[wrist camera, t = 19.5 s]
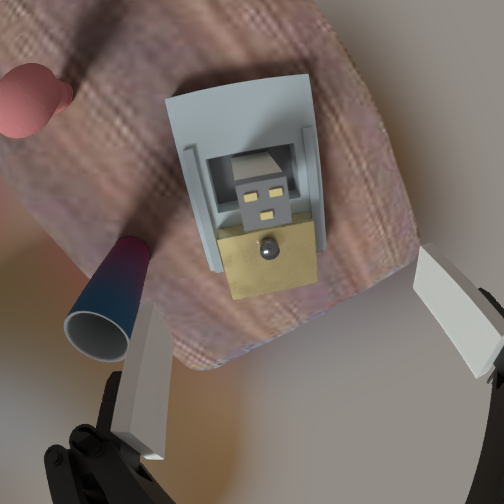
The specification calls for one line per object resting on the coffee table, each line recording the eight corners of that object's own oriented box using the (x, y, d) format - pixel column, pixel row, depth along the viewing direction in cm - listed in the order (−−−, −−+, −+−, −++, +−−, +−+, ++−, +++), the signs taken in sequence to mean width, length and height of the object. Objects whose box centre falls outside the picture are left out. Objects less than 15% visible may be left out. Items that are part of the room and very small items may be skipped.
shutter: (217, 229, 32) (216, 246, 29) (307, 211, 32) (317, 226, 28) (232, 286, 36) (233, 306, 33) (312, 270, 36) (320, 288, 33)
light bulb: (95, 63, 23) (36, 56, 13) (87, 123, 27) (29, 145, 16) (45, 68, 22) (-20, 70, 12) (39, 124, 25) (-24, 148, 15)
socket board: (170, 98, 27) (163, 99, 24) (300, 75, 27) (310, 73, 24) (211, 257, 37) (210, 274, 34) (319, 236, 37) (327, 250, 34)
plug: (230, 158, 31) (235, 186, 22) (267, 151, 31) (286, 177, 22) (237, 191, 33) (244, 232, 24) (272, 185, 33) (292, 223, 24)
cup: (166, 263, 37) (145, 353, 24) (127, 281, 38) (97, 367, 25) (138, 220, 34) (96, 300, 21) (98, 243, 34) (50, 323, 22)
